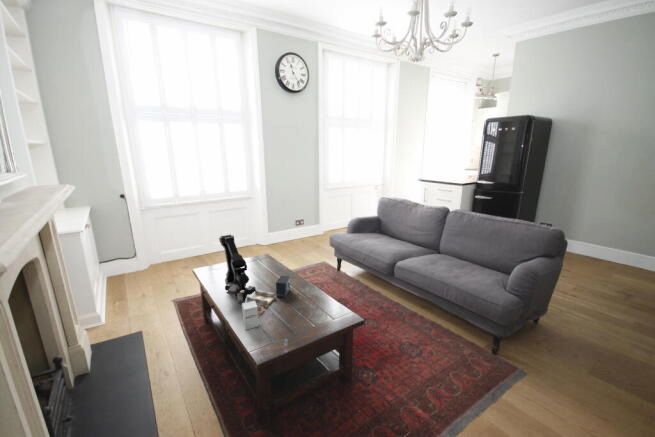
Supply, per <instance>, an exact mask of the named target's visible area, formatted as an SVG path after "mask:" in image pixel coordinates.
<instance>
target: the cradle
mask: <svg viewBox="0 0 655 437" xmlns="http://www.w3.org/2000/svg"><path fill="white" fill-rule="evenodd" d="M276 298H277V297H276V294H275V293H274V292H269V291H264V290H258V289H256V291H255V292H254V295H253V296H247V298H246V300H247V301H246V302H251V301H255V302H256V304H257V306H261V307H263V308H268V307H269V306H270V304H272V302H273V301H274V300H275V299H276Z"/></svg>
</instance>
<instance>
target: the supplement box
mask: <svg viewBox="0 0 655 437" xmlns="http://www.w3.org/2000/svg"><path fill="white" fill-rule="evenodd" d="M241 311H242V320H243V321H242V323H243V327H244V329H245V331H246V330H249V329H254V328H258V327H259V315H258V308H257V304H256V302H255V301H251V302H247V301H245V303H242V305H241Z"/></svg>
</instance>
